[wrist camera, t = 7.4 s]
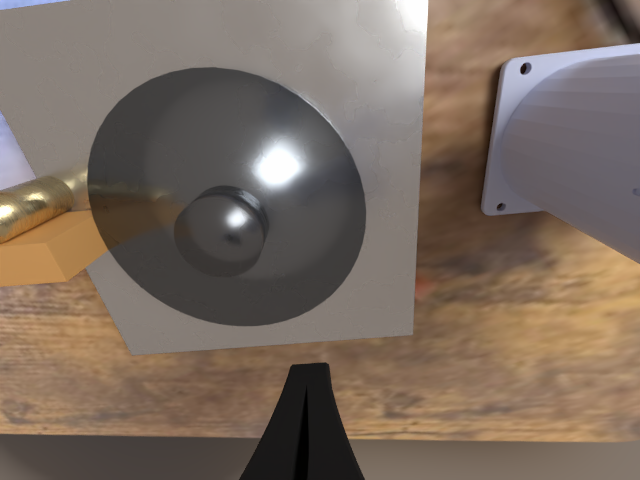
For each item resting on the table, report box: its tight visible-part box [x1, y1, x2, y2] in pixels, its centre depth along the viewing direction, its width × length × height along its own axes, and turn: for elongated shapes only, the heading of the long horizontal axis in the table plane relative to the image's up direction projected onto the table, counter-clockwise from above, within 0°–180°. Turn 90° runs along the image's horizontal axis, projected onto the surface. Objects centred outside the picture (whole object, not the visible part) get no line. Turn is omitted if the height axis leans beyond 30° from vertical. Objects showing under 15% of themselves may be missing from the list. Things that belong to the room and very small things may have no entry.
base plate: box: [0, 0, 428, 355], centre depth 16 cm, size 20×20×6 cm
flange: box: [0, 67, 366, 326], centre depth 15 cm, size 18×14×4 cm
